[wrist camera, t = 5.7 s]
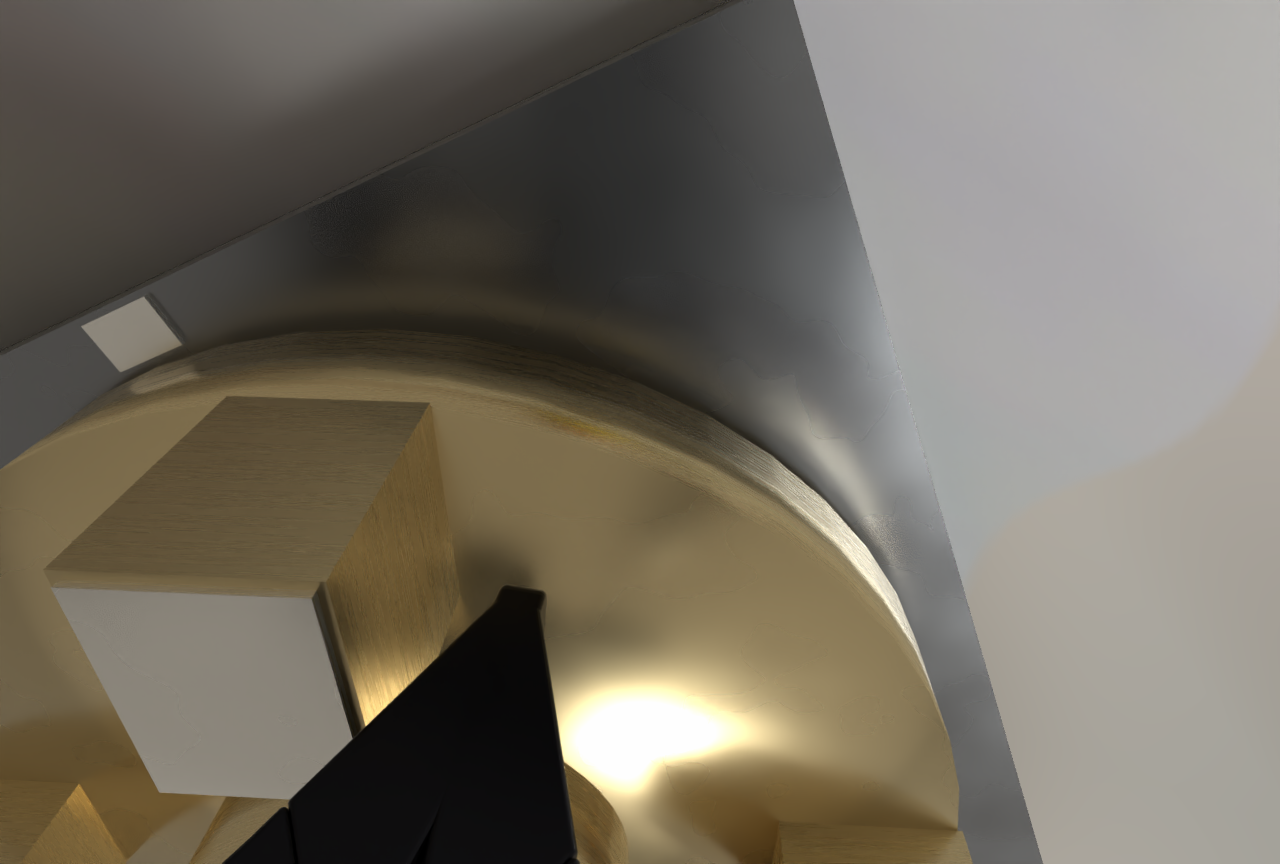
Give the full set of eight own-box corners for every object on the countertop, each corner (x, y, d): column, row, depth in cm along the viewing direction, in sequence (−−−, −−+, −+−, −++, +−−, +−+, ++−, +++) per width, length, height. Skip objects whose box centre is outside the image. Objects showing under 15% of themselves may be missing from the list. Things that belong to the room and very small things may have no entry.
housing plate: (1037, 859, 19) (1055, 906, 18) (356, 973, 24) (342, 1015, 23) (777, -23, 9) (787, -20, 8) (-254, 473, 14) (-321, 509, 13)
